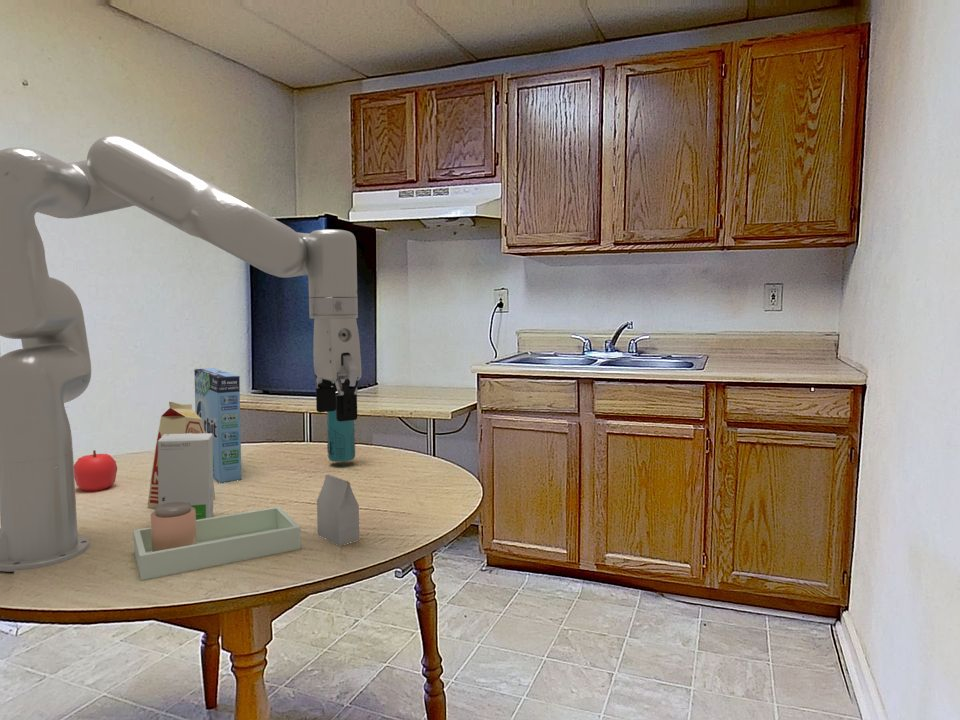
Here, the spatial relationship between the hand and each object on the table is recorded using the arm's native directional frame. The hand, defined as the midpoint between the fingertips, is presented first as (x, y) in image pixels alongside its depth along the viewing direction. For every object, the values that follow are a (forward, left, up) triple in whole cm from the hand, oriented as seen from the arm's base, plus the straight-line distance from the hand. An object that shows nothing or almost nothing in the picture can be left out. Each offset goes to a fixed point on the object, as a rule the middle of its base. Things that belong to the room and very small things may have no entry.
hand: (336, 415), depth 105 cm
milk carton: (-19, +34, -21) cm, 44 cm away
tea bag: (0, 0, -21) cm, 21 cm away
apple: (-33, +54, -21) cm, 67 cm away
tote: (-18, +3, -20) cm, 27 cm away
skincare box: (-20, +20, -21) cm, 35 cm away
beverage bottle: (+17, +46, -20) cm, 53 cm away
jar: (-24, +3, -20) cm, 31 cm away
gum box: (-9, +54, -21) cm, 58 cm away
